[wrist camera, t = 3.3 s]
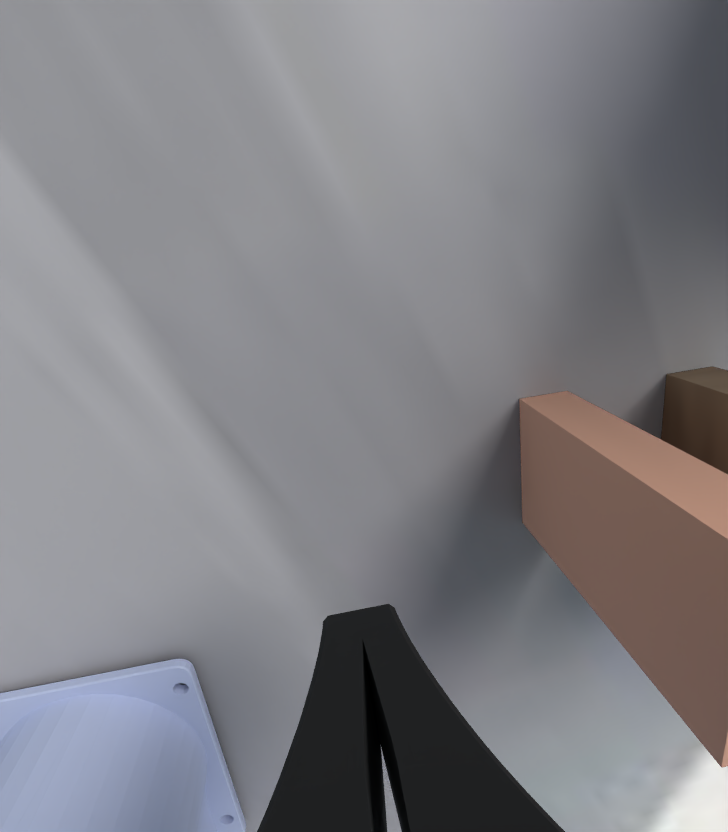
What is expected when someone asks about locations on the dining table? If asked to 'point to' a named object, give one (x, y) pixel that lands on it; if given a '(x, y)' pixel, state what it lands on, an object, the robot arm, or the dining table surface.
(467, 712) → the dining table surface
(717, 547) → the domino
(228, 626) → the dining table surface
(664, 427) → the domino
